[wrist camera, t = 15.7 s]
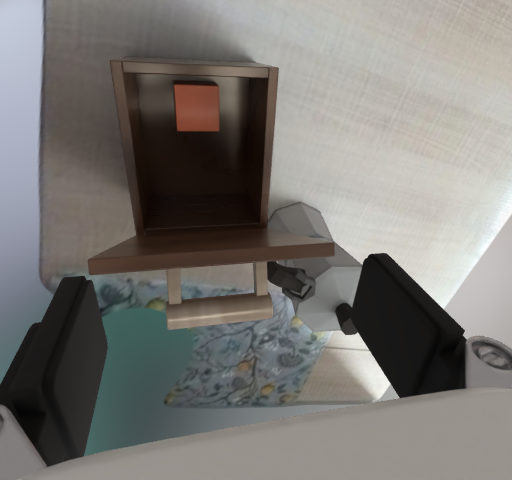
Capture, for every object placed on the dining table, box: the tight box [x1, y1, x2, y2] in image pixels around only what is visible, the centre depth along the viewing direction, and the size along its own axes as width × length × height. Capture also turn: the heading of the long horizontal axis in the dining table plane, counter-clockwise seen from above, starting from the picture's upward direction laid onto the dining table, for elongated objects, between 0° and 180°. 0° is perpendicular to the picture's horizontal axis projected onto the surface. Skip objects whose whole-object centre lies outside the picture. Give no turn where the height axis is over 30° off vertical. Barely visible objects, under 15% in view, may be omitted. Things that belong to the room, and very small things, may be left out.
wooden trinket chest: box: [110, 56, 279, 235], centre depth 32 cm, size 15×13×9 cm
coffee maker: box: [267, 202, 363, 335], centre depth 37 cm, size 15×9×18 cm, turn 60°
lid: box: [88, 228, 335, 330], centre depth 25 cm, size 15×13×5 cm
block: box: [174, 80, 220, 131], centre depth 32 cm, size 4×4×4 cm
